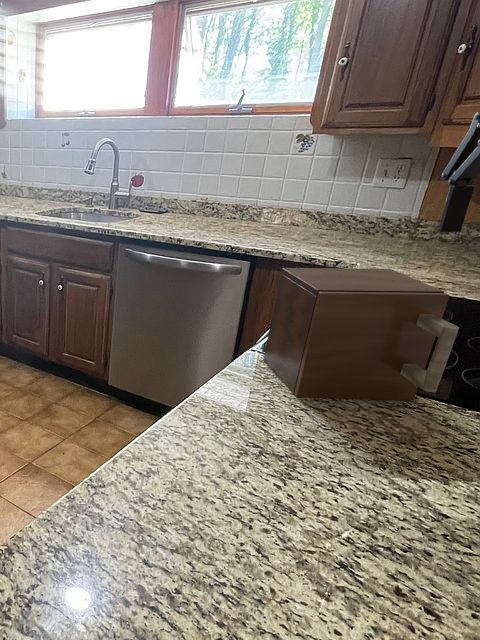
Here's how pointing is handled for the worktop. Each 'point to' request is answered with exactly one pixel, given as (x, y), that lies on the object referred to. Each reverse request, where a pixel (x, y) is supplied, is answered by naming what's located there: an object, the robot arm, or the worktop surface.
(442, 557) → the worktop surface
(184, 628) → the worktop surface
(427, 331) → the door
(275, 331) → the cupboard
